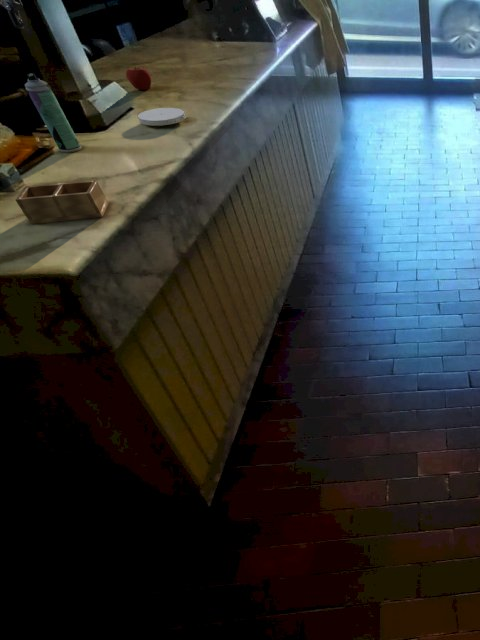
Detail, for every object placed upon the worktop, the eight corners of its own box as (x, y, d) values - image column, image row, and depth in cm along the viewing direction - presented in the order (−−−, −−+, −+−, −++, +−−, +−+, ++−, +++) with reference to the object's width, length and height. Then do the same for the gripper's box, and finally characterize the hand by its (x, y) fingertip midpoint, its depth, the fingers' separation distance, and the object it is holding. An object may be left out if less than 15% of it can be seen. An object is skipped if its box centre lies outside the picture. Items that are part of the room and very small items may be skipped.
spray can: (77, 144, 158) (38, 70, 144) (84, 149, 155) (45, 74, 141) (57, 149, 154) (15, 73, 140) (64, 153, 152) (22, 77, 138)
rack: (31, 224, 121) (14, 199, 117) (40, 209, 127) (25, 186, 122) (102, 216, 125) (89, 193, 121) (108, 203, 131) (96, 180, 126)
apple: (129, 88, 200) (120, 65, 195) (151, 85, 204) (142, 62, 199) (136, 93, 196) (126, 69, 191) (158, 89, 201) (149, 67, 195)
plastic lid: (168, 130, 169) (165, 122, 167) (131, 126, 171) (127, 118, 169) (196, 118, 179) (193, 110, 177) (160, 113, 181) (157, 106, 179)
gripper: (-66, -38, 130) (-29, 36, 136) (-21, -54, 128) (15, 22, 134) (-34, -28, 137) (0, 42, 143) (9, -43, 134) (42, 29, 140)
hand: (7, 32), depth 138 cm, fingers open, 8 cm apart
